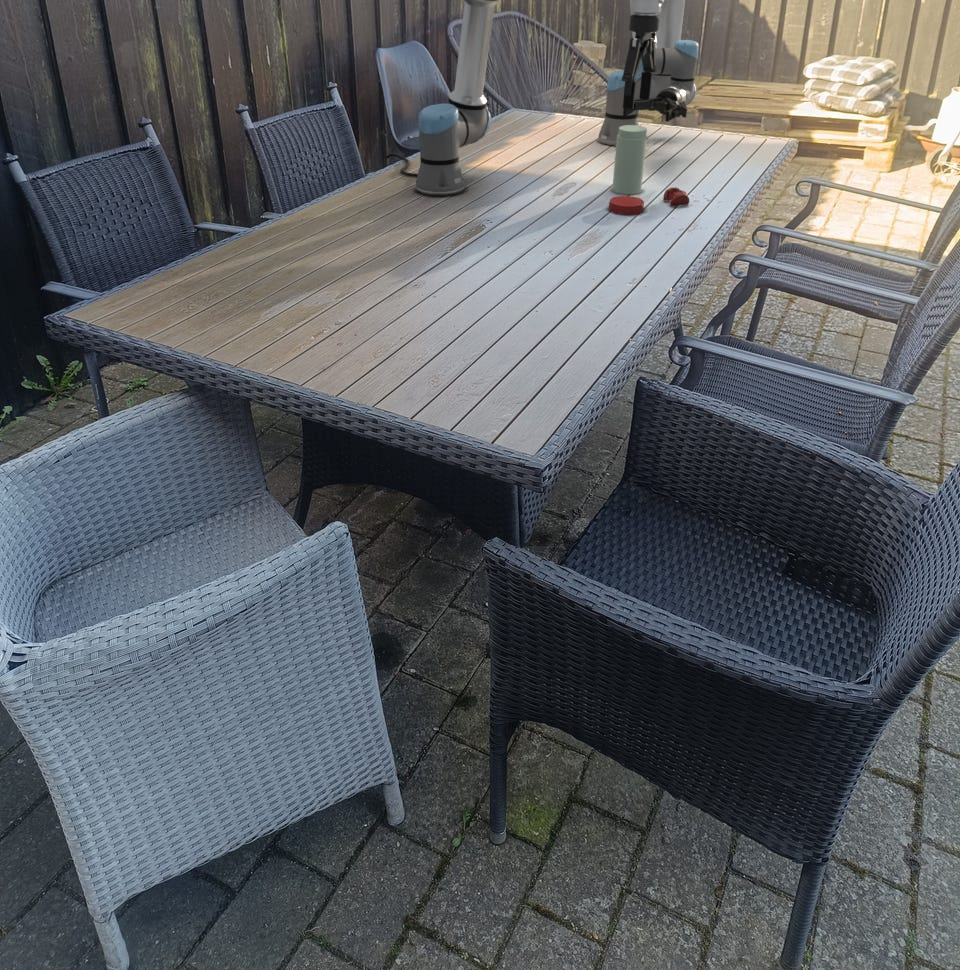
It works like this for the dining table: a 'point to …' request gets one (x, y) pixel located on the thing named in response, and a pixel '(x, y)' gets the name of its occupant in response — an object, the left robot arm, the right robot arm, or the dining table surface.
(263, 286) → the dining table surface
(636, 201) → the lid
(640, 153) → the jar
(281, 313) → the dining table surface
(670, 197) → the dental model
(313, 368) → the dining table surface
